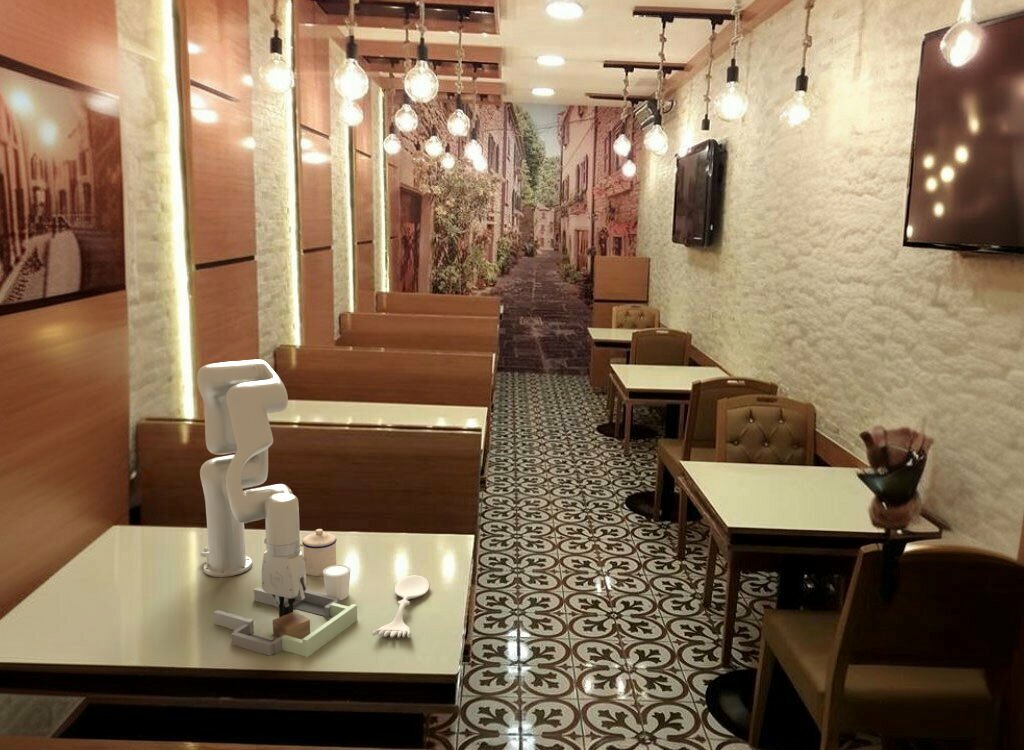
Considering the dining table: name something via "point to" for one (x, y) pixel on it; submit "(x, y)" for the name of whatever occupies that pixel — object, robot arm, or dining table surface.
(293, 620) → the walnut block
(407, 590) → the spoon
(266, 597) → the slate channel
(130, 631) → the dining table surface
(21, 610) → the dining table surface
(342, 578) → the shot glass
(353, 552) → the dining table surface
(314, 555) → the teacup with lid
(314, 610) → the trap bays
